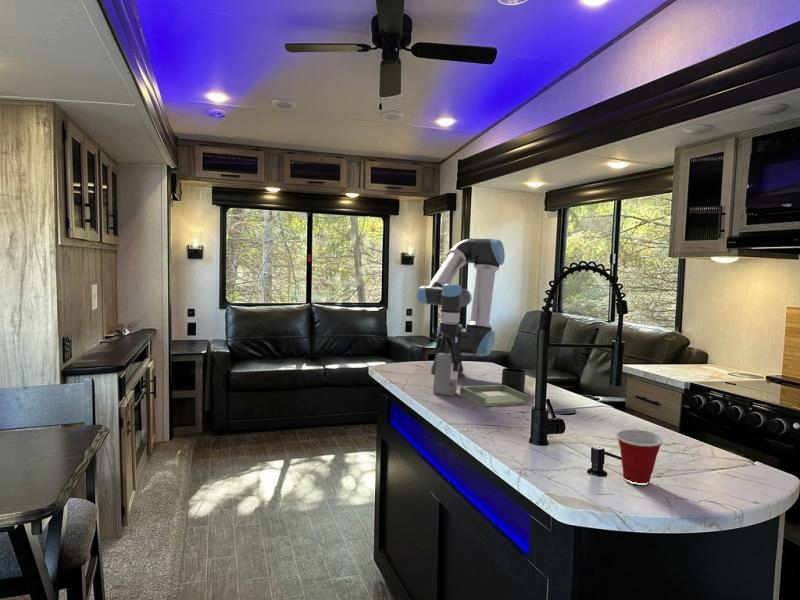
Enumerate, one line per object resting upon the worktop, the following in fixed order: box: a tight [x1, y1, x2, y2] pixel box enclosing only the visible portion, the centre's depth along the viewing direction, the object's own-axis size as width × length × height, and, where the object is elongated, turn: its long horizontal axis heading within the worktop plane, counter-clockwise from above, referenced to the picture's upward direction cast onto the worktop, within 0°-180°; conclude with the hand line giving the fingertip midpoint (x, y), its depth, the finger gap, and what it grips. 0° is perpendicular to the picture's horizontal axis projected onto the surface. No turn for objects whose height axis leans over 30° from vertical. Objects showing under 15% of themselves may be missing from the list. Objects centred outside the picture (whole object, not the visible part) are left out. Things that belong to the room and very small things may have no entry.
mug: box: [501, 367, 527, 394], centre depth 224 cm, size 9×12×9 cm
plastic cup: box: [615, 428, 664, 483], centre depth 134 cm, size 11×11×12 cm
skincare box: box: [432, 353, 459, 397], centre depth 214 cm, size 8×7×16 cm
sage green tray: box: [459, 384, 530, 408], centre depth 209 cm, size 18×20×3 cm
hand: (446, 375), depth 214 cm, fingers open, 13 cm apart
